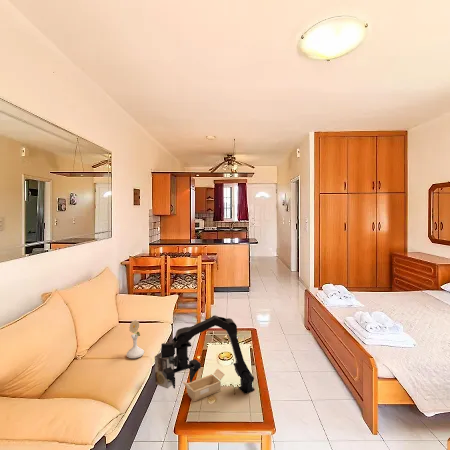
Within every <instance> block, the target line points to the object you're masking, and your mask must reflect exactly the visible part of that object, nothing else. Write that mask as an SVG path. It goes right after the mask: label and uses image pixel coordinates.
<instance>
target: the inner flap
mask: <svg viewBox="0 0 450 450" xmlns="http://www.w3.org/2000/svg"><path fill="white" fill-rule="evenodd" d="M212 375H214V376H215V377H216V378H217V379H218V380H219V381H221V380H222V379H223V378H224V376H225V373H224V372H223V371H221V369H219V368H217V369H216V370H215V371H214V372H213V374H212Z"/></svg>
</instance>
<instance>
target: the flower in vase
mask: <svg viewBox="0 0 450 450" xmlns="http://www.w3.org/2000/svg"><path fill="white" fill-rule="evenodd" d="M128 328H129V332H131V333H133V334H131V336H130V338H131V339H132V341H133V344H132V347H131V348H130V349H128V351H127V352H126V354H125V355H126V357H127V358H129V359H137V358H138V359H139V358H140V357H142V356H144V354H145V350H144V349H143V348H141V347H139V346H138V338H139V336H141V334H140V331H139V328H140V322H139V321H138V320H137V319H136V320H132V322H130V324H129V327H128Z"/></svg>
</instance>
